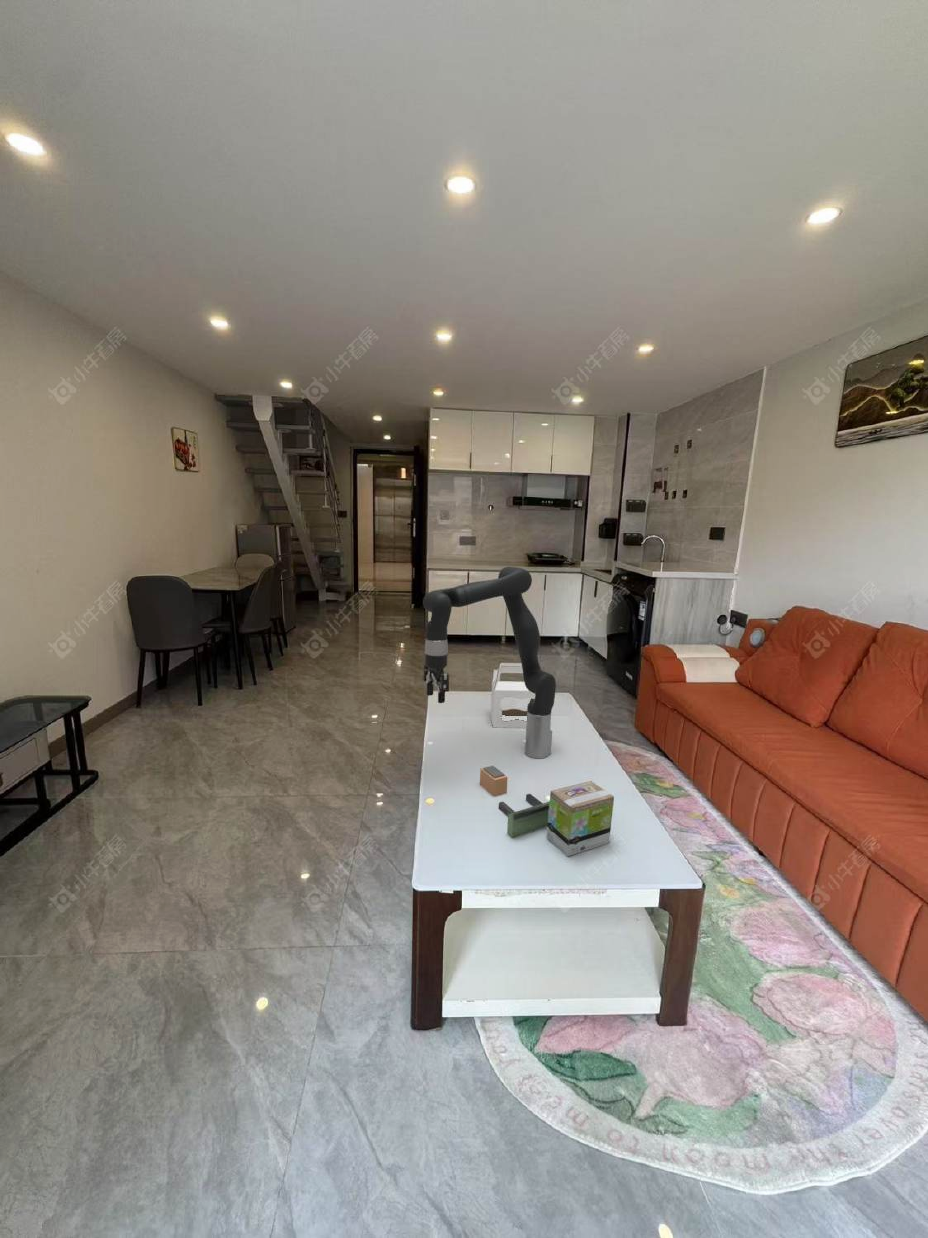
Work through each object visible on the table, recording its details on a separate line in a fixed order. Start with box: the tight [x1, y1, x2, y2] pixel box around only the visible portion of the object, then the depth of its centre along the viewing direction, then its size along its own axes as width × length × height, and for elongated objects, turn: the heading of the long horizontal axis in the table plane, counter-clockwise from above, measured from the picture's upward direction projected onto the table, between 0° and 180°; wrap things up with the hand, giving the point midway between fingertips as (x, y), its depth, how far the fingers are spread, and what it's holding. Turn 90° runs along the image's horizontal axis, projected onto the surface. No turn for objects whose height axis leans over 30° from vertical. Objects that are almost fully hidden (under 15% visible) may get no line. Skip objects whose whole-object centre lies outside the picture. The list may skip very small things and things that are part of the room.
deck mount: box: [498, 793, 550, 839], centre depth 152 cm, size 22×15×7 cm
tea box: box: [546, 780, 615, 857], centre depth 139 cm, size 15×10×15 cm, turn 117°
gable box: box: [490, 662, 535, 729], centre depth 224 cm, size 22×13×28 cm, turn 91°
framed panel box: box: [479, 765, 509, 798], centre depth 167 cm, size 5×9×6 cm, turn 29°
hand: (435, 698), depth 168 cm, fingers open, 8 cm apart
